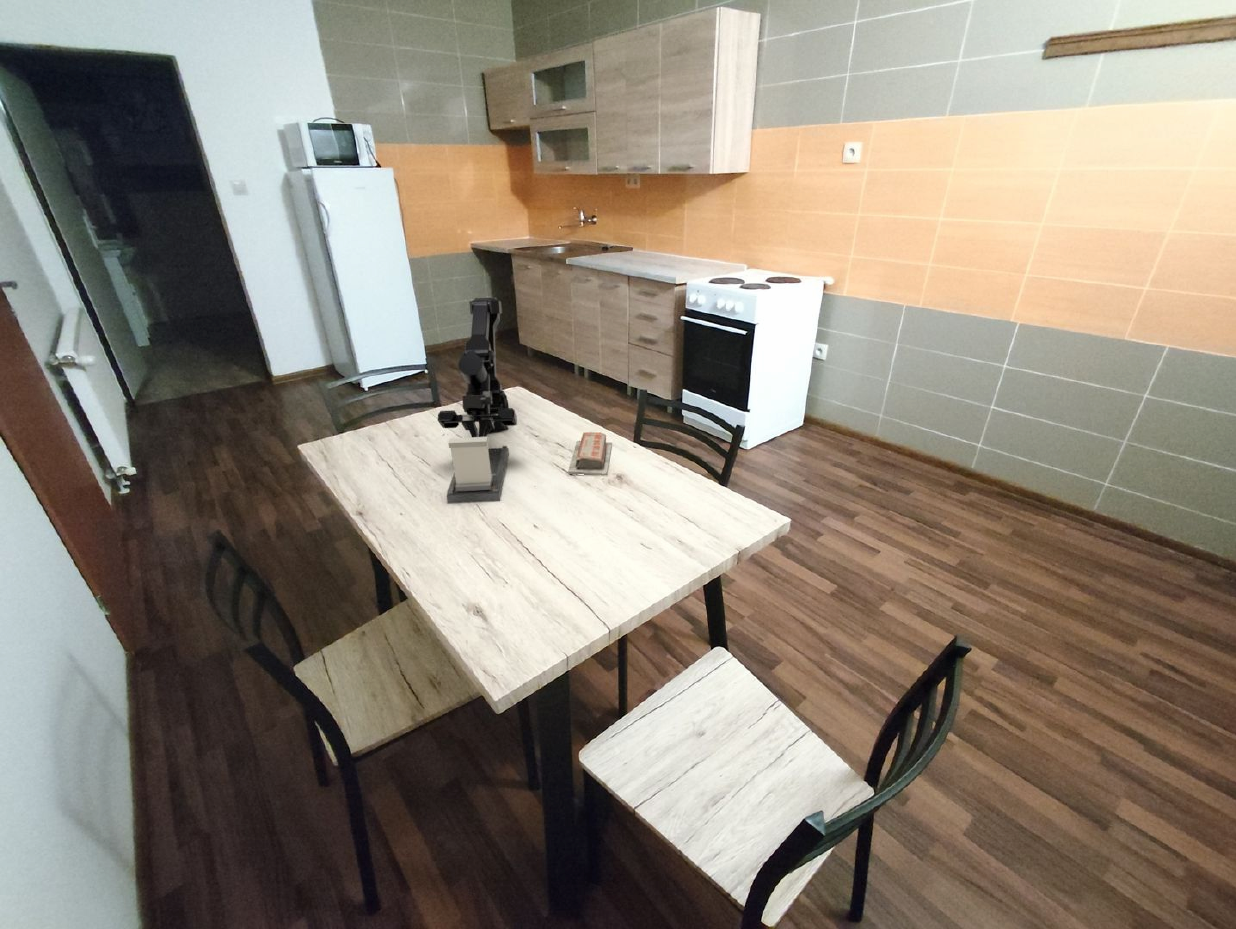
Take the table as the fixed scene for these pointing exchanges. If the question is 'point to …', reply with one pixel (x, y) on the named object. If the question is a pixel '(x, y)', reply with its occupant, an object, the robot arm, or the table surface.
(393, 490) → the table surface
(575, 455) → the packaged product
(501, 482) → the tray
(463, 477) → the fader paddle
